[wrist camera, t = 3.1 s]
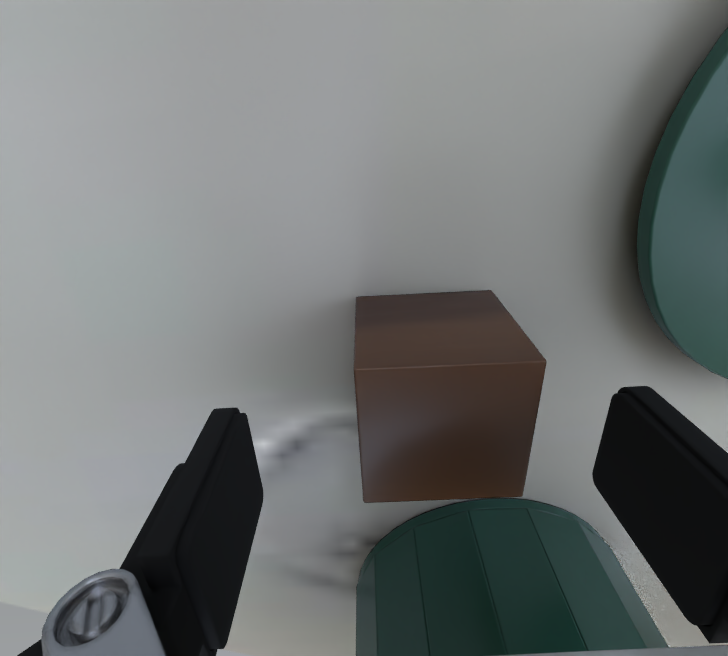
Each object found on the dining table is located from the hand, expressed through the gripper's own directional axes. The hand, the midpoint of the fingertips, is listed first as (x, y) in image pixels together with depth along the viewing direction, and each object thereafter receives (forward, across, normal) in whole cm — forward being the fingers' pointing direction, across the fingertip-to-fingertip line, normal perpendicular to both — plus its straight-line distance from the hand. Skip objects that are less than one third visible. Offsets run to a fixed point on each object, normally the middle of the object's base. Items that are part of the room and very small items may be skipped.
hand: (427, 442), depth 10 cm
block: (+4, 0, -1) cm, 4 cm away
